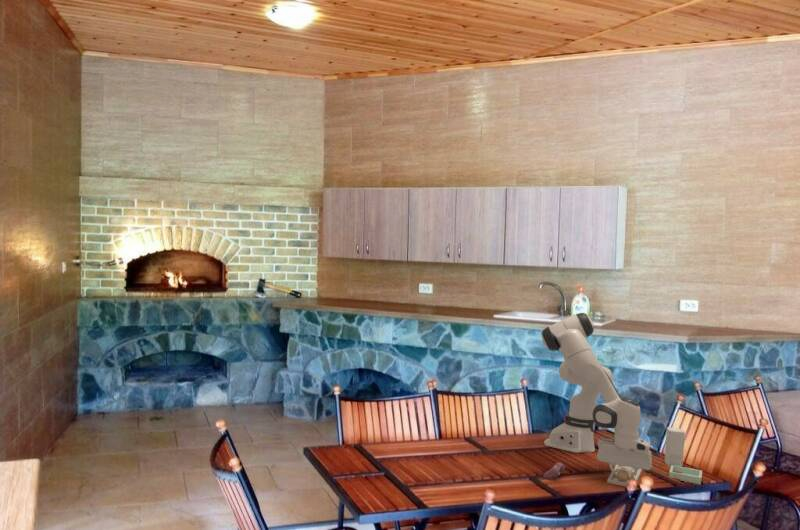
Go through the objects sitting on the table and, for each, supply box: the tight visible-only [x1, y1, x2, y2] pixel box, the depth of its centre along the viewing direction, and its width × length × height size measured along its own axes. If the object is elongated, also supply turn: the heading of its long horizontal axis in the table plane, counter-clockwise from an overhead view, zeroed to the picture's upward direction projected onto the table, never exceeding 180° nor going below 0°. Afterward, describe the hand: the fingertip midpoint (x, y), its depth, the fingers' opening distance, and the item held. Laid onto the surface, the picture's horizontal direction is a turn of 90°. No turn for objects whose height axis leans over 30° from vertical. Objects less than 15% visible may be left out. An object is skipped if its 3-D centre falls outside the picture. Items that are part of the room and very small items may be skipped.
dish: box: [668, 465, 703, 486], centre depth 305 cm, size 12×12×3 cm
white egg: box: [620, 466, 632, 475], centre depth 298 cm, size 5×5×5 cm
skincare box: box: [663, 426, 686, 467], centre depth 324 cm, size 8×7×16 cm
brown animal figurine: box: [543, 462, 566, 480], centre depth 292 cm, size 10×5×7 cm, turn 149°
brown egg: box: [617, 470, 629, 482], centre depth 289 cm, size 5×5×5 cm
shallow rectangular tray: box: [606, 464, 643, 488], centre depth 298 cm, size 10×28×2 cm, turn 156°
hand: (622, 476), depth 290 cm, fingers open, 5 cm apart
